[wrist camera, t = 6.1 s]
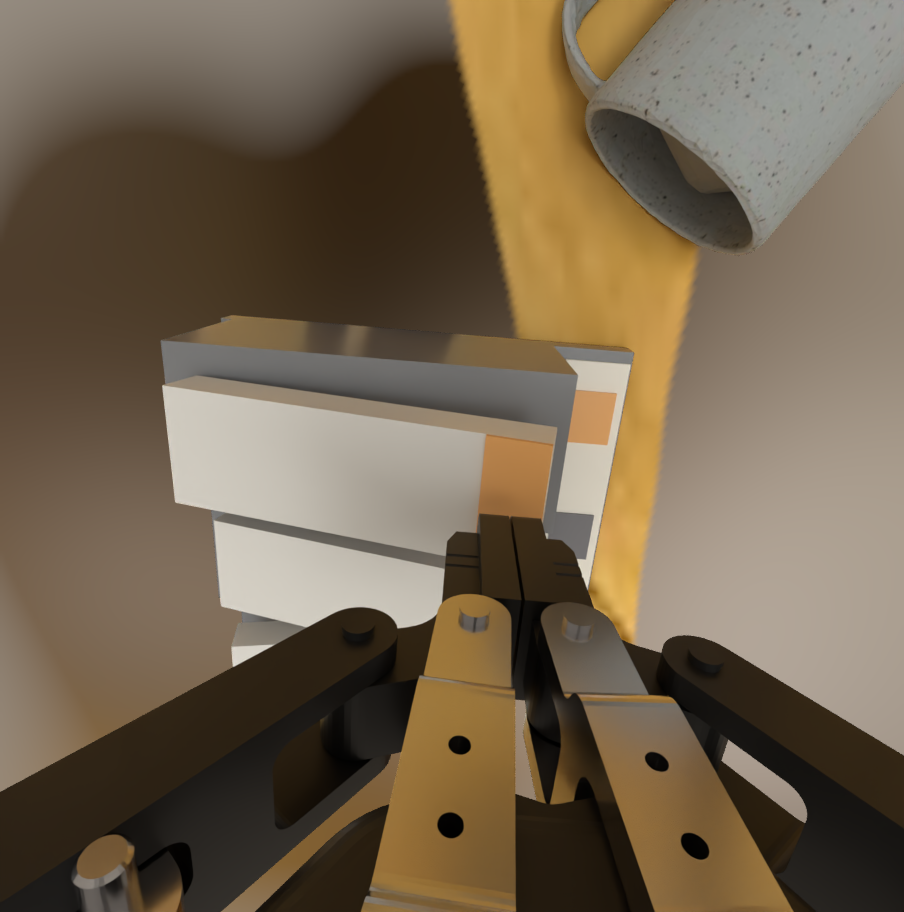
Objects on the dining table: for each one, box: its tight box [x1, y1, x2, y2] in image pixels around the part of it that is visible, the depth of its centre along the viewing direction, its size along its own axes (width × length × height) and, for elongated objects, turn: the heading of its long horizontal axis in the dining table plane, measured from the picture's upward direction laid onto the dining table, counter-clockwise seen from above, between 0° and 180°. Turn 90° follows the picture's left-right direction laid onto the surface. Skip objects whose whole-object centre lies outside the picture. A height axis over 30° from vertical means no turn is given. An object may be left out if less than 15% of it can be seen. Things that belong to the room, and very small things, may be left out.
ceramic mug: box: [562, 0, 904, 255], centre depth 18 cm, size 11×8×8 cm
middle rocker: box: [214, 513, 446, 628], centre depth 22 cm, size 4×12×2 cm, turn 86°
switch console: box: [161, 315, 634, 623], centre depth 24 cm, size 18×18×8 cm
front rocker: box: [163, 375, 557, 556], centre depth 17 cm, size 4×12×2 cm, turn 86°
